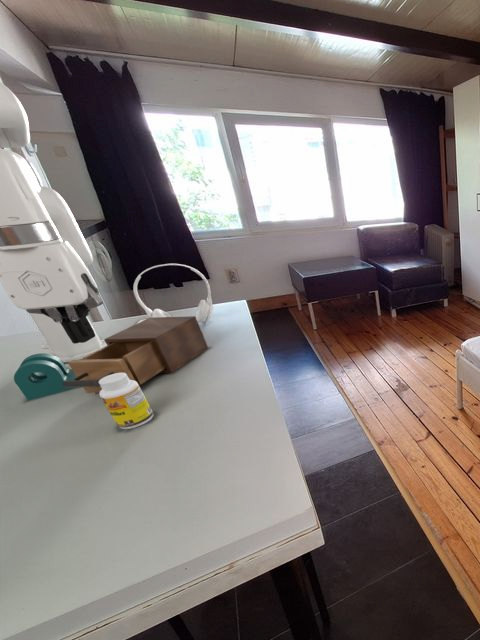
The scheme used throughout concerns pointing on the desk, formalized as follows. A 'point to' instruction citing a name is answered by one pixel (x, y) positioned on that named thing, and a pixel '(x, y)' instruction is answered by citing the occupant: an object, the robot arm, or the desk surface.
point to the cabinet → (167, 339)
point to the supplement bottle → (125, 401)
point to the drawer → (116, 364)
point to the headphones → (201, 316)
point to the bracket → (42, 376)
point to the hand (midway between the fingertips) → (84, 339)
